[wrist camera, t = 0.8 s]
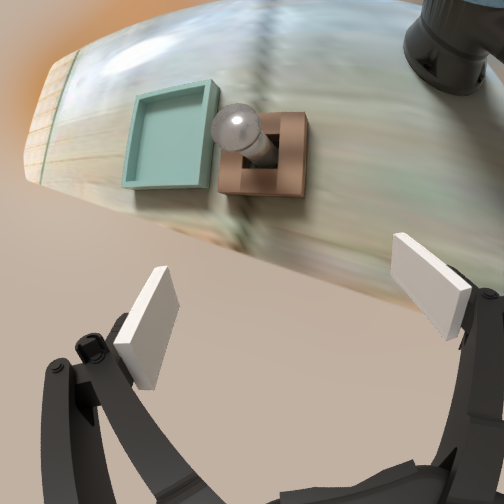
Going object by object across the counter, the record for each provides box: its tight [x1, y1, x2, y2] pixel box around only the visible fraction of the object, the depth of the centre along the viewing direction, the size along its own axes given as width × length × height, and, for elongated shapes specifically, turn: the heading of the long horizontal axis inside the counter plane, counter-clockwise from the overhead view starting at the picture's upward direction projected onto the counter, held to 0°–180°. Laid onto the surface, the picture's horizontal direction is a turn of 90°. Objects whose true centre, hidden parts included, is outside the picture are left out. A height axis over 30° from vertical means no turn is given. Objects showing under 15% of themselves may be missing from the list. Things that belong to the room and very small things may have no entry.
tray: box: [121, 79, 220, 190], centre depth 44 cm, size 18×16×4 cm
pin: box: [211, 103, 279, 169], centre depth 35 cm, size 6×6×13 cm
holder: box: [218, 112, 308, 198], centre depth 40 cm, size 12×12×3 cm
